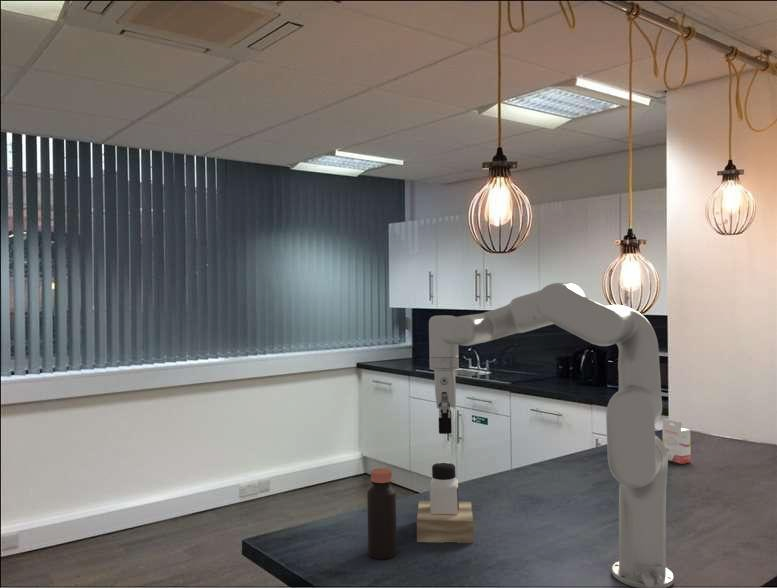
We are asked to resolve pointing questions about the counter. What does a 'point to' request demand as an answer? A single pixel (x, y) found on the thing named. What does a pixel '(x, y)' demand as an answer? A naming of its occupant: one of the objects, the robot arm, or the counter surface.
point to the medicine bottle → (444, 489)
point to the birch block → (445, 524)
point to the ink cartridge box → (676, 442)
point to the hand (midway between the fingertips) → (445, 429)
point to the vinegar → (381, 515)
